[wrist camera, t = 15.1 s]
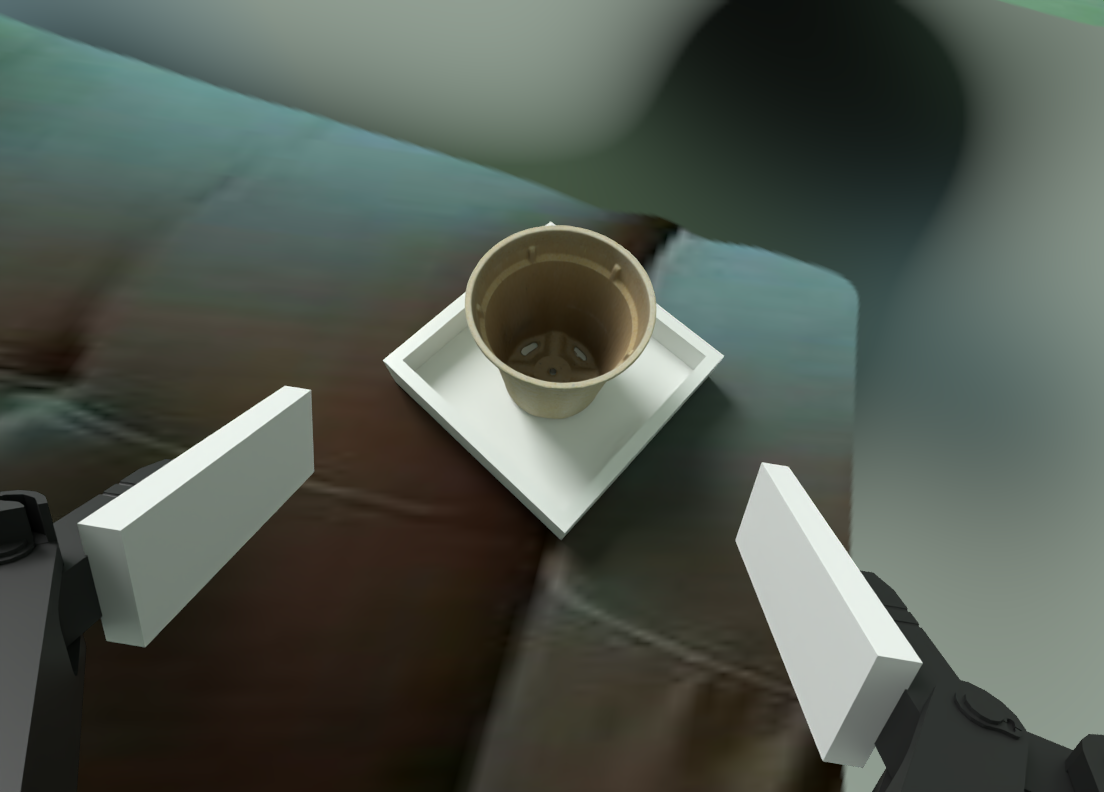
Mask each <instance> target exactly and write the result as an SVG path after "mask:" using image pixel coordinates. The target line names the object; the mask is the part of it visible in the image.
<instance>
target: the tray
mask: <svg viewBox="0 0 1104 792" xmlns="http://www.w3.org/2000/svg"><path fill="white" fill-rule="evenodd" d="M552 225H553V226H556V225H554V224H553V223H552V222H550V223H548V224H547V225H546V226H552ZM465 294H466V292H465V293H464V294H463V295H461V296H460V297H459V298H458V299H457V300H455V301H454V302H453V303H452V304H450V305H449V306H448V307H447V308H446V309H444V310H443V311H442V312H441V313H440V314H438V315H437V316H436V317H435V318H434V319H432V320H431V321H430V322H429V323H428V324H426V325H425V326H424V327H423V328H421V329H420V330H419V331H418V332H417V333H415V334H414V335H413V336H412V337H411V338H409V339H408V340H407V341H406V342H405V343H403V344H402V345H401V346H400V347H399V348H397V349H396V350H395V351H394V352H392V353H391V354H390V355H389V356H388V357H386V358H385V359H384V360H383V361H384V363H385V365H386V367H387V368H388V370H389V372H390V374H391V375H392V377H393V379H394V381H395V382H396V383H397V384H398V385H399V386H400V387H401V388H402V389H404V390H405V391H406V392H407V393H408V394H409V395H410V396H411V397H412V398H413V399H414V400H415V401H416V402H417V403H418V404H419V405H420V406H421V407H422V408H423V409H424V410H425V411H426V412H428V413H429V414H430V415H431V416H432V417H433V418H434V419H435V420H436V421H437V422H438V423H439V424H440V425H441V426H442V427H443V428H444V429H445V430H446V431H447V432H448V433H449V434H451V435H452V436H453V437H454V438H455V439H456V440H457V441H458V442H459V443H460V444H461V445H462V446H463V447H464V448H465V449H466V450H467V451H468V452H469V453H470V454H471V455H472V456H473V457H475V458H476V459H477V460H478V461H479V462H480V463H481V464H482V465H483V466H484V467H485V468H486V469H487V470H488V471H489V472H490V473H491V474H492V475H493V476H494V477H495V478H496V479H498V480H499V481H500V482H501V483H502V484H503V485H504V486H505V487H506V488H507V489H508V490H509V491H510V492H511V493H512V494H513V495H514V496H515V497H516V498H517V499H518V500H519V501H520V502H522V503H523V504H524V505H525V506H526V507H527V508H528V509H529V510H530V511H531V512H532V513H533V514H534V515H535V516H536V517H537V518H538V519H539V520H540V521H541V522H542V523H543V524H545V525H546V526H547V527H548V528H549V529H550V530H551V531H552V532H553V533H554V534H555V535H556V536H557V537H558V538H559V539H560V540H562V539H563V538H564V537H565V536H566V534H567V533H568V532H569V531H570V530H571V529H572V528H573V527H574V526H575V524H576V523H577V522H578V521H579V520H580V519H581V518H582V517H583V516H584V514H585V513H586V512H587V511H588V510H589V509H590V508H591V507H592V506H593V504H594V503H595V502H596V501H597V500H598V499H599V498H600V497H601V496H602V494H603V493H604V492H605V491H606V490H607V489H608V488H609V487H610V486H611V484H612V483H613V482H614V481H615V480H616V479H617V478H618V477H619V476H620V474H621V473H622V472H623V471H624V470H625V469H626V468H627V467H628V466H629V464H630V463H631V462H632V461H633V460H634V459H635V458H636V457H637V455H638V454H639V453H640V452H641V451H642V450H643V449H644V448H645V447H646V445H647V444H648V443H649V442H650V441H651V440H652V439H653V438H654V437H655V435H656V434H657V433H658V432H659V431H660V430H661V429H662V428H663V427H664V425H665V424H666V423H667V422H668V421H669V420H670V419H671V418H672V417H673V415H674V414H675V413H676V412H677V411H678V410H679V409H680V408H681V407H682V405H683V404H684V403H685V402H686V401H687V400H688V399H689V398H690V397H691V395H692V394H693V393H694V392H695V391H696V390H697V389H698V388H699V387H700V385H701V384H702V383H703V382H704V381H705V380H706V379H707V378H708V377H709V375H710V374H711V373H712V371H713V370H714V369H715V368H716V366H717V365H718V364H719V362H720V361H721V360H722V358H723V357H724V356H723V355H722V354H721V353H720V352H718V351H717V350H716V349H714V348H713V347H712V346H711V345H709V344H708V343H707V342H705V341H704V340H703V339H701V338H700V337H699V336H698V335H696V334H695V333H694V332H692V331H691V330H690V329H689V328H687V327H686V326H685V325H683V324H682V323H681V322H680V321H678V320H677V319H676V318H674V317H673V316H672V315H671V314H669V313H668V312H667V311H665V310H664V309H663V308H661V307H660V306H659V305H658V304H656V322H655V326H654V330H653V333H652V336H651V338H650V340H649V342H648V344H647V346H646V348H645V349H644V351H643V352H642V354H641V355H640V356H639V358H638V359H637V360H636V361H635V362H634V363H633V364H632V365H631V366H630V367H629V368H628V369H626V370H625V371H624V372H623V373H621V374H620V375H618V376H617V377H615V378H613V379H611V380H609V381H607V382H606V383H605V384H604V386H603V387H602V388H601V390H600V391H599V392H598V394H597V395H596V397H595V399H594V400H593V401H592V402H591V404H590V405H589V406H588V407H587V408H585V409H584V410H583V411H581V412H579V413H578V414H575V415H573V416H570V417H568V418H563V419H551V418H543V417H537V416H534V415H531V414H529V413H527V412H526V411H524V410H523V409H521V408H520V407H519V406H518V405H517V404H516V403H515V402H514V401H513V400H512V398H511V397H510V395H509V394H508V392H507V389H506V387H505V383H504V381H503V379H502V376H501V374H500V371H499V369H498V368H497V367H496V366H495V365H494V364H492V363H491V362H490V361H489V360H488V359H487V358H486V357H485V355H484V354H483V353H482V352H481V350H480V349H479V347H478V346H477V344H476V342H475V340H474V338H473V337H472V334H471V332H470V329H469V327H468V323H467V320H466V314H465ZM537 346H538V345H537V343H532V344H531V345H528V346H526V347H524V348H523V349H522V351H521V353H522V354H523V355H527V354H528V353H529V352H530V351H532V350H534V349H535V348H536V347H537ZM574 351H576V353H577V355H578V356H580V357H581V358H582V359H583V360H584V361H585V360H586V357H585V355H584V354H583V353H582V352H581V351H580V350H579V349H578V348H575V349H574ZM550 374H551V375H555V374H556V370H555V369H550Z"/></svg>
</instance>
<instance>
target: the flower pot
mask: <svg viewBox="0 0 1104 792" xmlns="http://www.w3.org/2000/svg"><path fill="white" fill-rule="evenodd" d="M465 314H466V320H467V323H468V327H469V329H470V332H471V334H472V337H473V338H474V340H475V342H476V344H477V346H478V347H479V349H480V350H481V352H482V353H483V354H484V355H485V357H486V358H487V359H488V360H489V361H490V362H491V363H492V364H494V365H495V366H496V367H497V368H498V369H499V371H500V374H501V376H502V379H503V381H504V383H505V387H506V389H507V392H508V394H509V395H510V397H511V398H512V400H513V401H514V402H515V403H516V404H517V405H518V406H519V407H520V408H521V409H523V410H524V411H526V412H527V413H529V414H531V415H534V416H537V417H543V418H551V419H563V418H568V417H570V416H573V415H575V414H578V413H579V412H581V411H583V410H584V409H585V408H587V407H588V406H589V405H590V404H591V402H592V401H593V400H594V399H595V397H596V395H597V394H598V392H599V391H600V390H601V388H602V387H603V386H604V384H605V383H606V382H607V381H609V380H611V379H613V378H615V377H617V376H618V375H620V374H621V373H623V372H624V371H625V370H626V369H628V368H629V367H630V366H631V365H632V364H633V363H634V362H635V361H636V360H637V359H638V358H639V356H640V355H641V354H642V352H643V351H644V349H645V348H646V346H647V344H648V342H649V340H650V338H651V336H652V333H653V330H654V326H655V322H656V298H655V292H654V289H653V286H652V284H651V281H650V279H649V277H648V275H647V273H646V271H645V270H644V268H643V267H642V266H641V264H640V263H639V262H638V260H637V259H636V258H635V257H634V256H633V255H632V254H631V253H630V252H629V251H627V249H624V248H623V246H621V245H619V244H618V243H616V242H615V241H613V240H611V239H609V238H608V237H606V236H603V235H601V234H599V233H597V232H593V231H591V230H587V229H583V228H580V227H579V228H578V227H572V226H565V225H562V226H560V225H557V226H553V225H552V226H541V227H535V228H531V229H526V230H524V231H520V232H518V233H516V234H513V235H511V236H509V237H507V238H505V239H504V240H502V241H501V242H499V243H498V244H496V246H494V247H493V248H492V249H490V250H489V251H488V252H487V253H486V254H485V255H484V256H483V257H482V259H481V260H480V261H479V263H478V264H477V266H476V268H475V269H474V271H473V273H472V275H471V277H470V279H469V281H468V284H467V289H466V294H465ZM532 343H537V345H538V346H537V347H536V348H535V349H534V350H532V351H530V352H529V353H528V354H527V355H523V354H522V353H521V351H522V349H523V348H524V347H526V346H528V345H531V344H532ZM575 348H578V349H579V350H580V351H581V352H582V353H583V354H584V355H585V357H586V360H585V361H584V360H583V359H582V358H581V357H580V356H578V355H577V353H576V351H574V349H575ZM550 369H555V370H556V374H555V375H551V374H550Z"/></svg>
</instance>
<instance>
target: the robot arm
mask: <svg viewBox="0 0 1104 792" xmlns="http://www.w3.org/2000/svg"><path fill="white" fill-rule="evenodd" d="M313 472H314V457H313V430H312V403H311V390H308V389H302V388H295V387H289V386H284V387H283V388H281V389H279V390H278V391H276V392H275V393H273V394H272V395H270V396H269V397H267V398H266V399H264V400H263V401H261V402H260V403H258V404H257V405H255V406H254V407H252V408H251V409H249V410H248V411H246V412H245V413H243V414H242V415H240V416H239V417H237V418H236V419H234V420H233V421H231V422H230V423H228V424H227V425H225V426H224V427H222V428H221V429H219V430H218V431H216V432H215V433H213V434H212V435H210V436H209V437H207V438H206V439H204V440H203V441H201V442H199V443H198V444H196V445H195V446H193V447H192V448H190V449H189V450H187V451H186V452H184V453H183V454H181V455H180V456H178V457H177V458H175V459H174V460H169V459H164V460H162V461H159V462H156V463H154V464H151V465H148V466H146V467H143V468H140V469H139V470H137V471H135V472H134V473H132V474H131V475H129V476H127V477H126V478H124V479H123V480H121V481H120V483H119V484H115V485H113V486H112V487H110V488H109V489H107V490H105V491H104V492H103V494H102V495H100V494H99V495H97V496H96V497H94V498H93V499H91V500H90V501H88V502H86V503H85V504H83V505H82V506H80V507H79V508H77V509H75V510H74V511H72V512H71V513H69V514H67V515H66V516H64V517H63V518H61V519H60V520H58V521H56V522H55V523H53V522H52V518H51V514H50V511H49V507H48V503H47V500H46V497H45V496H44V495H42V494H40V493H38V492H35V491H25V490H15V491H4V492H0V792H77V781H78V766H79V751H80V735H81V720H82V705H83V690H84V674H85V659H86V644H85V640H84V636H83V633H84V632H85V631H86V630H87V629H88V628H90V627H91V626H92V625H93V624H94V623H95V622H96V621H97V620H99V619H100V618H101V621H102V625H103V629H104V633H105V637H106V641H111V642H116V643H122V644H128V645H134V646H140V647H146V646H147V645H148V644H149V643H150V642H151V641H152V640H153V639H154V638H155V637H156V636H157V635H158V634H159V633H160V631H161V630H162V629H163V628H164V627H165V626H166V625H167V624H168V623H169V622H170V621H171V620H172V619H173V618H174V617H175V616H176V615H177V614H178V613H179V612H180V611H181V610H182V609H183V608H184V607H185V606H186V604H187V603H188V602H189V601H190V600H191V599H192V598H193V597H194V596H195V595H196V594H197V593H198V592H199V591H200V590H201V589H202V588H203V587H204V586H205V585H206V584H207V583H208V582H209V581H210V580H211V578H212V577H213V576H214V575H215V574H216V573H217V572H218V571H219V570H220V569H221V568H222V567H223V566H224V565H225V564H226V563H227V562H228V561H229V560H230V559H231V558H232V557H233V556H234V555H235V554H236V552H237V551H238V550H239V549H240V548H241V547H242V546H243V545H244V544H245V543H246V542H247V541H248V540H249V539H250V538H251V537H252V536H253V535H254V534H255V533H256V532H257V531H258V530H259V529H260V528H261V527H262V525H263V524H264V523H265V522H266V521H267V520H268V519H269V518H270V517H271V516H272V515H273V514H274V513H275V512H276V511H277V510H278V509H279V508H280V507H281V506H282V505H283V504H284V503H285V502H286V501H287V499H288V498H289V497H290V496H291V495H292V494H293V493H294V492H295V491H296V490H297V489H298V488H299V487H300V486H301V485H302V484H303V483H304V482H305V481H306V480H307V479H308V478H309V477H310V476H311V475H312V473H313ZM735 541H736V543H737V546H738V548H739V551H740V553H741V556H742V558H743V561H744V563H745V566H746V569H747V571H748V574H749V576H750V579H751V581H752V584H753V586H754V589H755V591H756V594H757V596H758V599H759V601H760V604H761V606H762V609H763V611H764V614H765V616H766V619H767V622H768V624H769V627H770V629H771V632H772V634H773V637H774V639H775V642H776V644H777V647H778V649H779V652H780V654H781V657H782V659H783V662H784V664H785V667H786V670H787V672H788V675H789V677H790V680H791V682H792V685H793V687H794V690H795V692H796V695H797V697H798V700H799V702H800V705H801V707H802V710H803V712H804V715H805V717H806V720H807V723H808V725H809V728H810V730H811V733H812V735H813V738H814V740H815V743H816V745H817V748H818V750H819V753H820V755H821V758H822V760H823V761H825V762H831V763H837V764H843V765H849V766H855V767H861V768H863V767H864V765H865V764H866V762H867V760H868V758H869V756H870V755H871V753H872V751H873V749H874V748H875V746H876V748H877V750H878V752H879V754H880V756H881V758H882V760H883V762H884V764H885V766H886V769H885V771H884V773H883V774H882V776H881V778H880V779H879V781H878V783H877V784H876V786H875V788H874V790H873V791H872V792H1104V735H1094V734H1088V735H1087V736H1086V737H1085V738H1083V739H1082V740H1081V741H1080V743H1079V744H1078V745H1077V746H1076V748H1075V749H1074V750H1071V749H1069V748H1066V747H1064V746H1061V745H1059V744H1056V743H1054V742H1051V741H1049V740H1046V739H1044V738H1042V737H1039V736H1037V735H1034V734H1031V733H1029V732H1027V731H1026V729H1025V728H1024V727H1023V725H1022V724H1021V722H1020V721H1019V719H1018V718H1017V716H1016V715H1015V714H1014V713H1013V712H1012V711H1011V710H1009V708H1007V707H1006V706H1005V705H1004V704H1003V703H1002V702H1001V701H1000V700H998V699H997V698H995V697H994V696H992V695H991V694H989V693H988V692H987V691H985V690H983V689H981V688H979V687H977V686H975V685H973V684H971V683H969V682H965V681H961V680H960V679H959V678H958V677H957V675H956V674H955V672H954V671H953V670H952V668H951V667H950V666H949V664H948V663H947V662H946V660H945V659H944V657H943V656H942V655H941V653H940V652H939V651H938V649H937V648H936V647H935V645H934V644H933V642H932V641H931V640H930V639H929V637H928V636H927V634H926V633H925V632H924V630H923V629H922V628H920V627H919V624H918V622H917V621H916V619H915V618H914V617H913V616H912V614H911V613H910V612H908V611H907V607H906V606H905V604H904V603H903V602H902V600H901V599H900V598H899V596H898V595H897V594H896V592H895V591H894V590H893V589H892V588H891V587H890V586H888V585H887V584H886V583H885V582H884V581H882V580H881V579H880V578H879V577H878V576H876V575H875V574H874V573H872V572H865V571H860V570H859V569H858V568H857V566H856V565H855V563H854V562H853V560H852V559H851V557H850V556H849V554H848V553H847V552H846V550H845V549H844V547H843V546H842V544H841V543H840V541H839V540H838V538H837V537H836V535H835V534H834V533H833V531H832V530H831V528H830V527H829V525H828V524H827V522H826V521H825V519H824V518H823V516H822V515H821V514H820V512H819V511H818V509H817V508H816V506H815V505H814V503H813V502H812V500H811V499H810V497H809V496H808V495H807V493H806V492H805V490H804V489H803V487H802V486H801V484H800V483H799V481H798V480H797V478H796V477H795V476H794V474H793V473H792V471H791V470H790V468H789V467H787V466H781V465H775V464H768V463H761V466H760V469H759V472H758V475H757V478H756V481H755V484H754V487H753V490H752V493H751V496H750V499H749V502H748V505H747V508H746V511H745V514H744V516H743V519H742V522H741V525H740V528H739V531H738V534H737V537H736V540H735Z"/></svg>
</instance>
